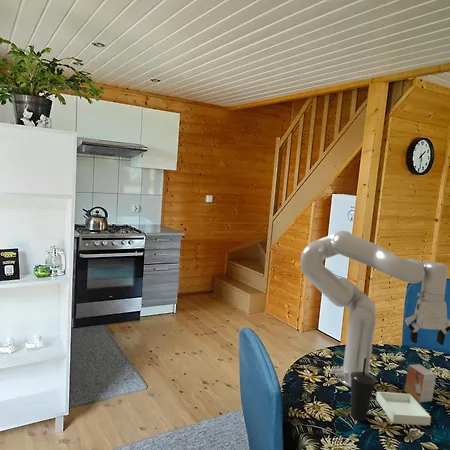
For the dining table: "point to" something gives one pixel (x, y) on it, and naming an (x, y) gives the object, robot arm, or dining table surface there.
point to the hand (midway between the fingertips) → (426, 342)
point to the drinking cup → (361, 393)
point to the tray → (403, 408)
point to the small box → (420, 383)
